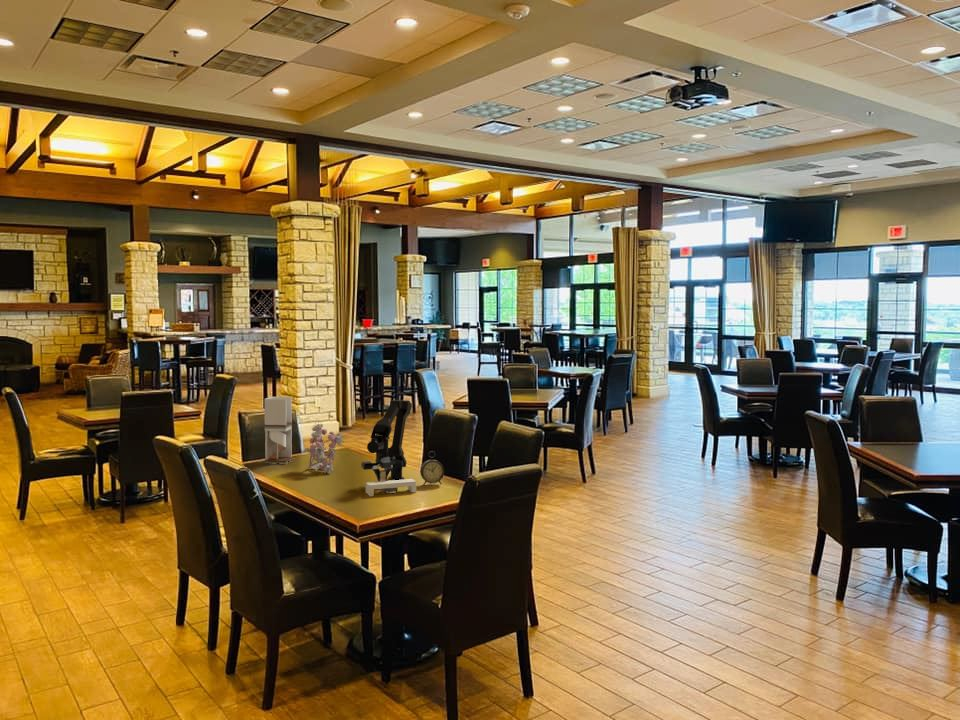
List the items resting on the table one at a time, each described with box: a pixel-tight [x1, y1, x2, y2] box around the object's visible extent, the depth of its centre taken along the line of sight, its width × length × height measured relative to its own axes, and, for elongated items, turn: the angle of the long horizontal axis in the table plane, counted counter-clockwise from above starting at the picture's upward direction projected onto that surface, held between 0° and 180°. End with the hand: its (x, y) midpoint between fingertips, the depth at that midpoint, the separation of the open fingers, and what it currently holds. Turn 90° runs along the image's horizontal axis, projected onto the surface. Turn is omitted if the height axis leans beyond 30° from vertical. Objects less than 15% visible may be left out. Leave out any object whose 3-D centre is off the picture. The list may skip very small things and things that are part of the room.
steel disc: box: [385, 490, 397, 494], centre depth 339 cm, size 4×4×1 cm
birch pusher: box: [379, 469, 399, 493], centre depth 347 cm, size 14×8×7 cm, turn 23°
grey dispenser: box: [264, 396, 293, 464], centre depth 401 cm, size 11×11×35 cm
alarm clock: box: [419, 450, 445, 486], centre depth 356 cm, size 11×5×16 cm, turn 105°
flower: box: [300, 422, 345, 474], centre depth 381 cm, size 20×22×25 cm
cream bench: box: [365, 478, 417, 497], centre depth 338 cm, size 6×22×5 cm, turn 114°
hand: (381, 482), depth 352 cm, fingers closed on birch pusher, 2 cm apart
